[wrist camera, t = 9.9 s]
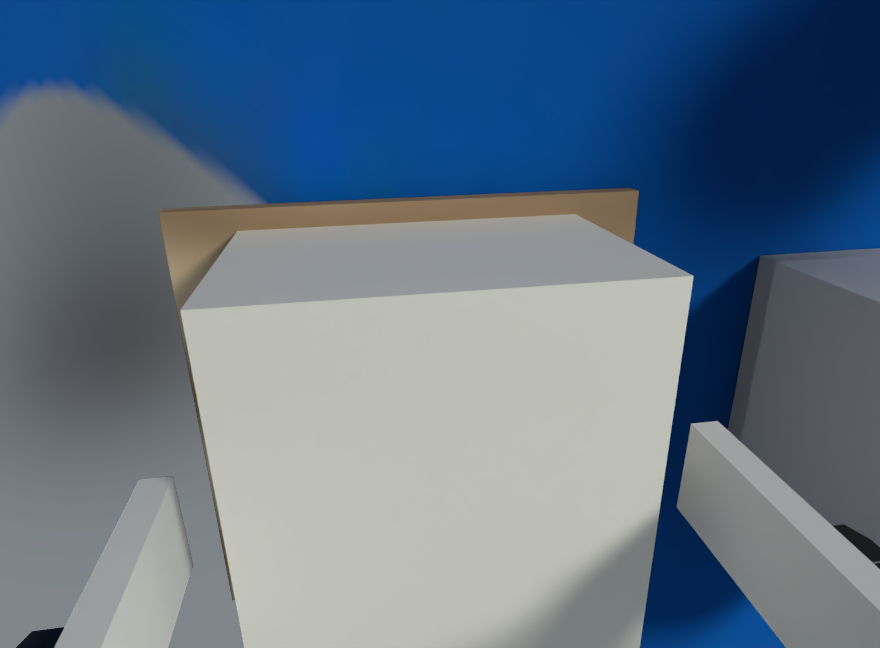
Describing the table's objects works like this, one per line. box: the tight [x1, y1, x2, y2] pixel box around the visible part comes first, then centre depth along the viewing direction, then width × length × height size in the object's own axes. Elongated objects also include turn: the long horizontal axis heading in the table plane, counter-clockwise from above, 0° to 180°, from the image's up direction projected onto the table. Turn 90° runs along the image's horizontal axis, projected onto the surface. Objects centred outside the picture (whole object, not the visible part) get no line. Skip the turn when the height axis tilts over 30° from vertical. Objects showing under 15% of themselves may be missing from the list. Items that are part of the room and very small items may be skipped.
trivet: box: [158, 188, 639, 600], centre depth 20 cm, size 14×14×1 cm
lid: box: [180, 214, 694, 648], centre depth 17 cm, size 13×10×7 cm
